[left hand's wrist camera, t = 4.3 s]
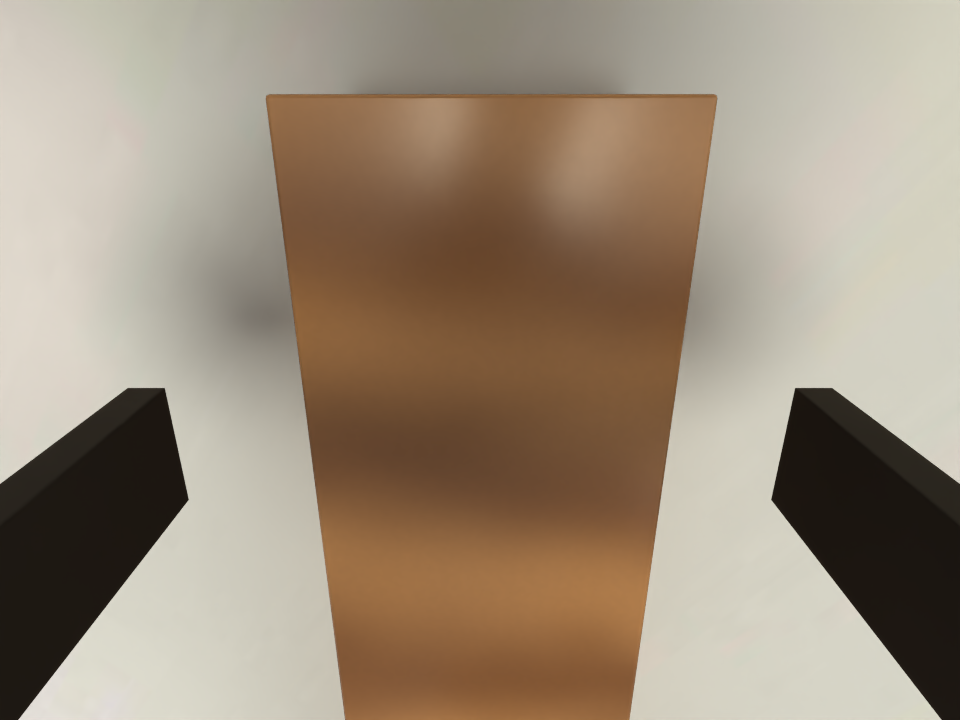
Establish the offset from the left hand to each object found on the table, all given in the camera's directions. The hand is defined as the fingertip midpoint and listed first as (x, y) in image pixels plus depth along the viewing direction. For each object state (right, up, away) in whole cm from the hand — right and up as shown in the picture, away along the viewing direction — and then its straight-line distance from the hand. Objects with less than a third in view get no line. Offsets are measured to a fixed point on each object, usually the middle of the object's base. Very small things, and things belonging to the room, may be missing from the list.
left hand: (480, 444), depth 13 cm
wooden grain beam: (0, -16, +16) cm, 22 cm away
